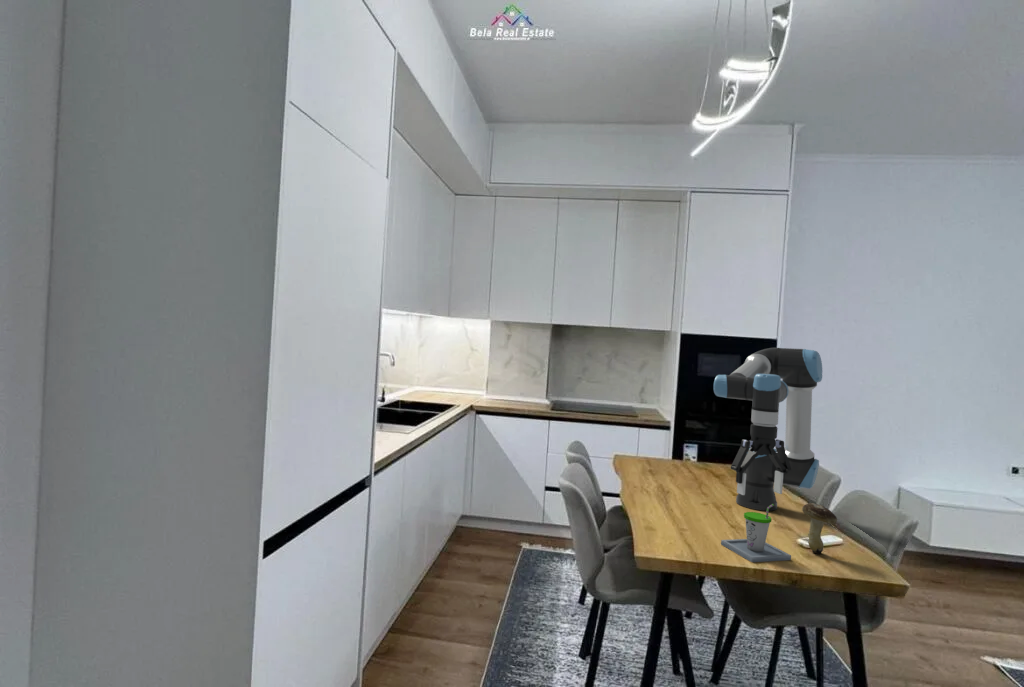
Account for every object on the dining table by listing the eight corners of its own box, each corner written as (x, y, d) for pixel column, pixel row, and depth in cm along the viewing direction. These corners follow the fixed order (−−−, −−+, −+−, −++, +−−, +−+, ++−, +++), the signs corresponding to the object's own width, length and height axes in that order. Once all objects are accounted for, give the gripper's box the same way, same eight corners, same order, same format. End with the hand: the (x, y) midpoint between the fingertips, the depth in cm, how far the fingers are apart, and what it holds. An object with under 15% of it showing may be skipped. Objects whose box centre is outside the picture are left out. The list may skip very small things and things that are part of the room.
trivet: (758, 542, 181) (758, 538, 181) (790, 560, 167) (791, 555, 167) (720, 544, 177) (721, 539, 177) (751, 562, 163) (751, 557, 163)
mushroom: (793, 546, 179) (796, 500, 179) (818, 547, 180) (822, 501, 180) (811, 558, 170) (815, 509, 170) (838, 559, 170) (842, 510, 170)
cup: (735, 545, 174) (739, 497, 174) (754, 543, 177) (757, 496, 177) (755, 555, 167) (759, 505, 167) (775, 552, 170) (778, 503, 170)
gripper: (788, 422, 179) (783, 488, 179) (721, 421, 172) (716, 490, 172) (806, 426, 172) (802, 495, 172) (737, 426, 165) (733, 498, 165)
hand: (759, 493), depth 172 cm, fingers open, 13 cm apart
